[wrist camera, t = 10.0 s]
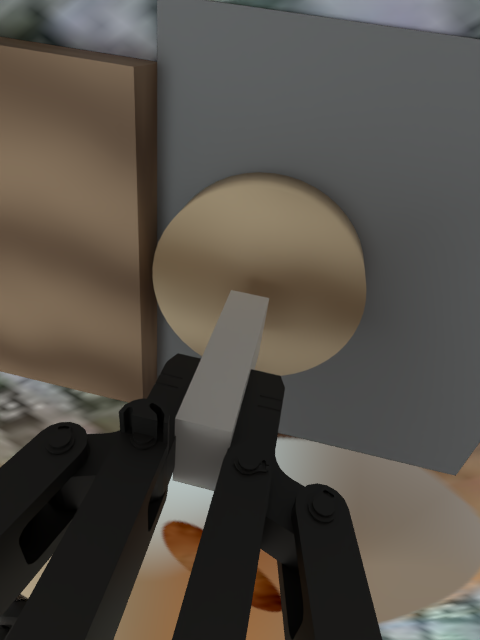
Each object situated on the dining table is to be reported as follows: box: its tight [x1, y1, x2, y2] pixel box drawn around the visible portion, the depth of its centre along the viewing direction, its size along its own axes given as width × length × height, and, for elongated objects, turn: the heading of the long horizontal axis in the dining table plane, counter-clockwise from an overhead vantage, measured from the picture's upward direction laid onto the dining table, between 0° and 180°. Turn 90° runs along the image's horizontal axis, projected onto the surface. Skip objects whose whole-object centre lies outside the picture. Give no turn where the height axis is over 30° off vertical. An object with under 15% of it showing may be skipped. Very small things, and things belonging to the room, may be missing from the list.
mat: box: [157, 0, 480, 476], centre depth 19 cm, size 20×18×1 cm
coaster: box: [153, 172, 366, 376], centre depth 18 cm, size 9×9×2 cm
